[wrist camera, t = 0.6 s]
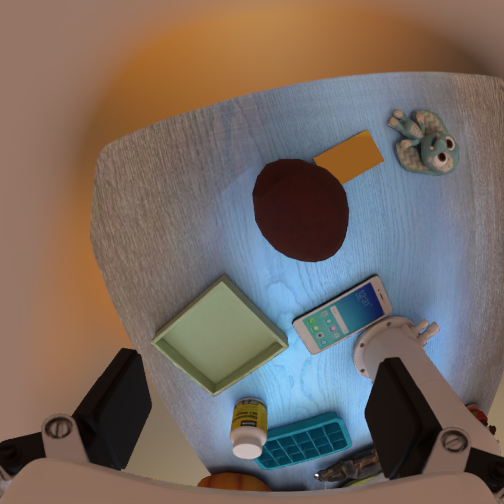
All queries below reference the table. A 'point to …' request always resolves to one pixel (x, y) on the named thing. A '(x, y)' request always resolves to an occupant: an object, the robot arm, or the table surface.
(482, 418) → the cake
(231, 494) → the robot arm
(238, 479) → the pumpkin
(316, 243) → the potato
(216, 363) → the tray
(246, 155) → the table surface
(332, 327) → the smartphone
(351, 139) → the gold rectangular slab
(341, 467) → the dark mineral chunk
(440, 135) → the stuffed animal
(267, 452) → the ice cube tray
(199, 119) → the table surface
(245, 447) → the pill bottle
